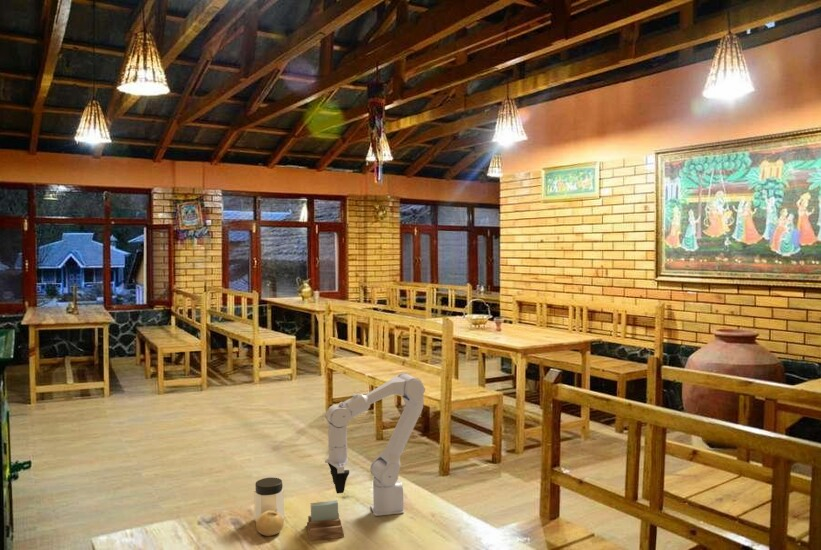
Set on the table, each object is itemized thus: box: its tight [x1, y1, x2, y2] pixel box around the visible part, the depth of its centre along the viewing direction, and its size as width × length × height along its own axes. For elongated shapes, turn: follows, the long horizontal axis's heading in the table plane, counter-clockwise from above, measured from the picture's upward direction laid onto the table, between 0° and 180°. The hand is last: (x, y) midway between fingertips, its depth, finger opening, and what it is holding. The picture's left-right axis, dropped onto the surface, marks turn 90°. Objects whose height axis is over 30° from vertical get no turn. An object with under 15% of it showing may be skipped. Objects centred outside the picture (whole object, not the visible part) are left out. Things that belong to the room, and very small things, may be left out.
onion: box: [255, 509, 285, 537], centre depth 192 cm, size 8×8×7 cm
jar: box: [253, 477, 285, 522], centre depth 201 cm, size 9×8×12 cm
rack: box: [306, 512, 345, 542], centre depth 193 cm, size 10×10×3 cm
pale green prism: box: [310, 500, 339, 522], centre depth 195 cm, size 8×2×6 cm, turn 103°
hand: (338, 488), depth 200 cm, fingers open, 7 cm apart
